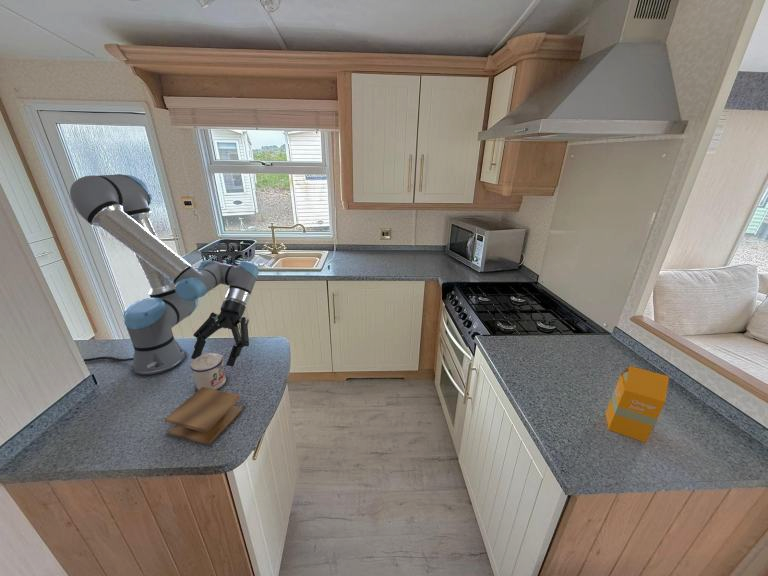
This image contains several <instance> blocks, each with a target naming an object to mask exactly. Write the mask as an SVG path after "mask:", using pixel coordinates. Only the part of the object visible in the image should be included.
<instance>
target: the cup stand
mask: <svg viewBox="0 0 768 576" xmlns="http://www.w3.org/2000/svg"><path fill="white" fill-rule="evenodd" d="M240 399H241V396H240V394H237V393H232V392H228V391H223V390H218V389H216V390H214V389H210V388H205V387H202V388H201V389H199V390H198V389H197V391H196V392H195V393H193V394H192V395H191V396H190V397H189V398H187V399H186V400H185V401H184V402H183V403H182V404H180V405H179V406H178V407H176V408H175V409H174V410H173V411H172V412H170V413H169V414H168V415H167V416H166V417H164V422H165V423H168V424H171V425H173V427H171V428H170V430H168V434H169V435H171V436H175V437H179V438H181V439H186V440H189V441H193V442H197V443H200V444H205V445H207V446H210V445H211V444H212V443H214V441H215V440H216V439H217V438H218V437H219V436H220V435H221V434H222V432H223V431H224V430H225V429H226V428H227V427H228V426H229V425H230V423H231V422H233V421H234V420H235V418H236V417H237V416H238V415H239V414H240V413H241V412H242V411H243V407H242V406H239V405H235V404H236V403H237V402H238V401H239V400H240Z"/></svg>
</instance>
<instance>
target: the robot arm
mask: <svg viewBox="0 0 768 576" xmlns="http://www.w3.org/2000/svg"><path fill="white" fill-rule="evenodd" d="M69 199H70V203H71V204H72V207H73V208H74V211H76V213H77V214H78V215H79V216H80V217H81V218H82V219H83V220H85V221H86V222H87V223H88V224H90V226H92V227H94V228H96V229H102V230H104V231H105V232H106V233H108V234H109V235H110V236H111V237H112V238H114V239H115V240H117V241H118V242H119V243H121V244H122V245H123V246H124V247H125V248H127V249H129V250H130V252H133V254H134V256H135V258H136V260H137V262H138V264H139V266H140V268H141V270H142V272H143V274H144V276H145V278H146V280H147V282H148V284H149V286H150V290H149V292H148V296H149V297H147V298H143V299H141V300H137V301H134V302H133V303H130V304H129V305H128V306H127V307H126V308H125V309H124V311H123V315H122V316H123V319H124V326H125V327H126V330H127V332H128V335H129V338H130V341H131V343H132V347H133V350H134V351H133V352H134V353H133V357H129V358H117V357H113V356H97V357H91V358H83V359H84V361H83V362H90V361H97V360H114V361H118V362H128V361H132V368H133V371H134V373H135V374H136V375H140V376H154V375H159V374H162V373H166V372H168V371H170V370H173V369H174V368H176V367H178V366H179V365H180V364H181V363H183V361H184V360H185V358H186V355H185V351H184V349H183V348H182V347H181V346H180V344H179V343H178V342H177V340H176V339H175V337H174V333H173V328H174V327H175V326H176V325H178V324H179V323H180V322H182V321H183V320H185V319H186V318H188V317H189V316H191V315H192V314H193V312H195V311H196V309H197V308H198V305H199V299H200V298H203V297H204V296H205V295H207V294H208V293H209V292H210V291H212V290H213V289H215V288H216V287H218V286H220V285H224V286H229V287H228V289H227V292H226V294H225V296H224V300H223V301H222V304H221V306H220V312H219V314H217V313H215V312H213V311H212V312H211V313H210V314H209V317H208V318H207V319H206V320H205V321H204V322H203V323H202V324H201V326H199V328H198V329H197V330H196V331H195V332H194V333H193V335H192V336H193V337H195V338H196V342H195V343H194V346H193V349H194V350H193V352H192V355H191V357H190V359H191V360H194V359H196V358H197V357H199V356H201V355H202V354H203V351H204V348H205V346H206V343H207V340H206V339H208V338H209V337H210V336H212V335H213V334H215V333H216V332H217V331H219V330H221V329H228V330H231V333H232V337H233V339H234V342H235V344H234V345H233V346H232V348H231V351H230V353H229V356H228V359H227V362H226V364H225V365H226V366H227V367H232V368H233V367H234V366H235V363H236V360H237V358H238V357H240V354H241V352H242V349H243V348H244V347H249V346H250V337H249V326H248V325H249V323H250V320H249V318H246V317H245V316H244V313H245V311H246V309H247V308H246V306H247V305H248V303H249V300H250V297H251V294H252V292H253V289H254V286H255V284H256V281H257V280H258V277H259V272H260V268H259V267H258V265H256V264H255V263H253V262H250V261H248V260H247V261H246V260H242V261H240V262H238V264H237V265H232V264H228V263H223V262H219V261H216V260H209V259H205V260H202V261H201V262H200V264H199V265H198V267H197V269H196V268H195V267H194V266H192V265H191V264H190V263H189V262H187V261H186V260H185V259H184V258H182V257H181V256H180V255H179V254H178V253H176V251H174V250H172V248H171V247H169V246H168V245H166V244H165V243H164V242H163V241H161V240H160V239H159V237H158V234H157V232H156V231H155V228H154V226H153V224H152V222H151V219H150V216H151V214H152V210H151V208H150V205H151V204H152V200H153V195H152V192H151V190H150V188H149V187H148V185H147V184H146V183H145V182H144V181H143V180H142V179H140V178H139V177H136V176H134V175H130V174H122V173H121V174H120V173H116V174H101V175H85V176H81V177H79V178H78V179H76V180H75V181H74V182H73V183H72V184H71V186H70V188H69ZM239 325H240V328H239Z"/></svg>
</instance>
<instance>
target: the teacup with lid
mask: <svg viewBox="0 0 768 576" xmlns="http://www.w3.org/2000/svg"><path fill="white" fill-rule="evenodd" d="M190 369H191V370H192V374H193V379H194V383H195V386H196V390H197V391H198V390H199V389H201V388H202V387H205V388H210V389H214V390H218V389H220V388H221V387H223V386H224V385H225V383H226V381H227V378H226V373H225V368H224V355H222V354H219V353H215V352H209V353H208V352H204V353H201V355H200V356H199V357H197V358H196V359H192V362H191V363H190Z"/></svg>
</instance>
